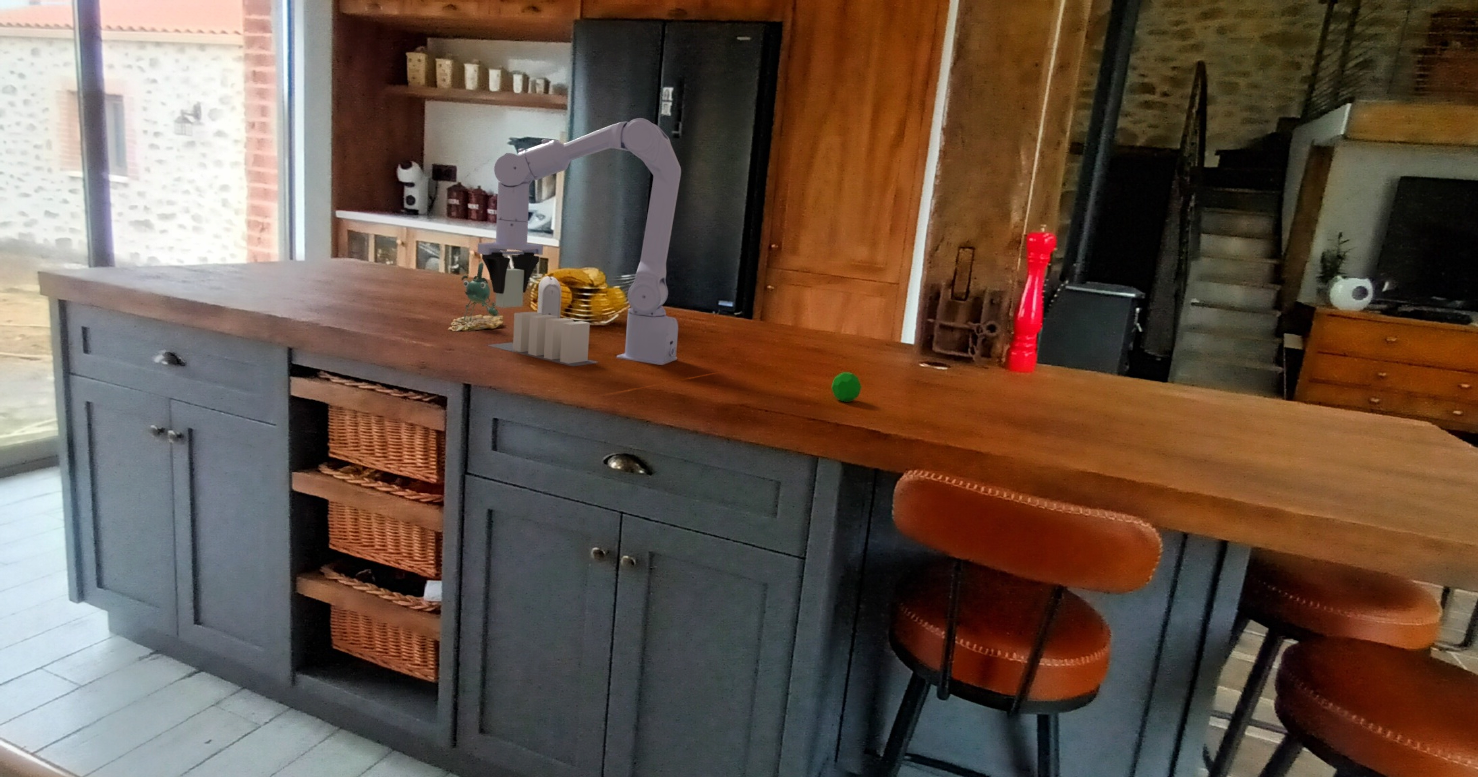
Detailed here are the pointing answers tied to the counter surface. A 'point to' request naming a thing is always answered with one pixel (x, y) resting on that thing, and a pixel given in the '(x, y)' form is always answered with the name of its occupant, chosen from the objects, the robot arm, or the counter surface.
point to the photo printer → (549, 297)
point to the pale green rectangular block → (512, 289)
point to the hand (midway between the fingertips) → (509, 292)
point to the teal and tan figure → (478, 294)
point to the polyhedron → (846, 387)
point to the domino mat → (510, 348)
